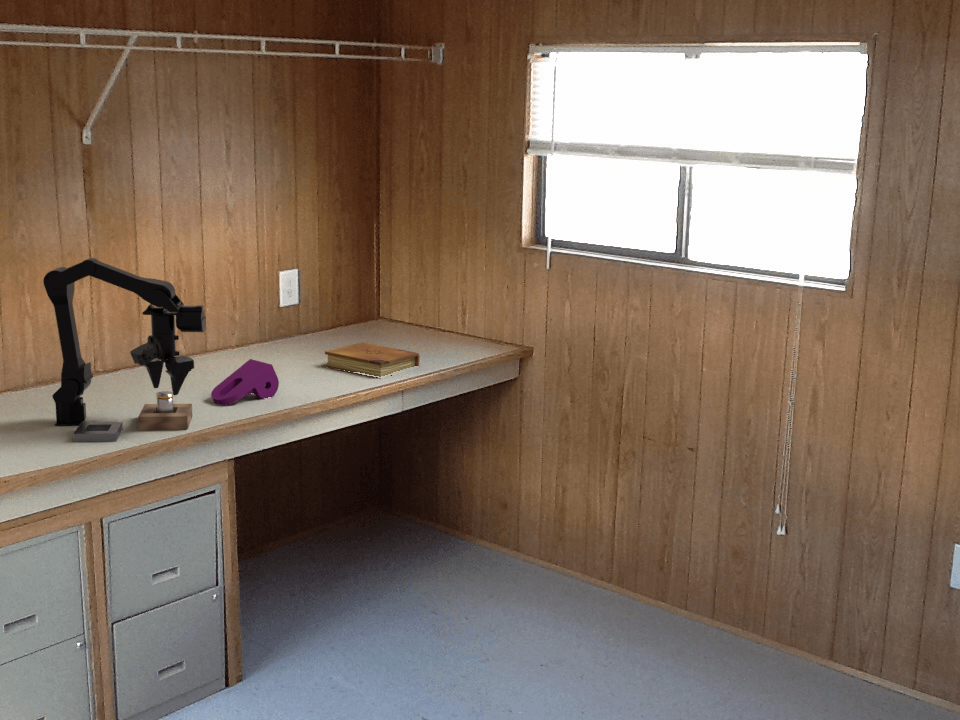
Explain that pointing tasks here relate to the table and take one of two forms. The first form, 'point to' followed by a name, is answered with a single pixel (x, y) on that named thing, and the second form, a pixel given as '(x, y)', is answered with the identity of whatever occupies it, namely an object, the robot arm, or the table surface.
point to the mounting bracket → (247, 383)
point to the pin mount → (97, 431)
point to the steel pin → (164, 402)
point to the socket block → (165, 418)
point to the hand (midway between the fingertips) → (165, 391)
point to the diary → (371, 359)
